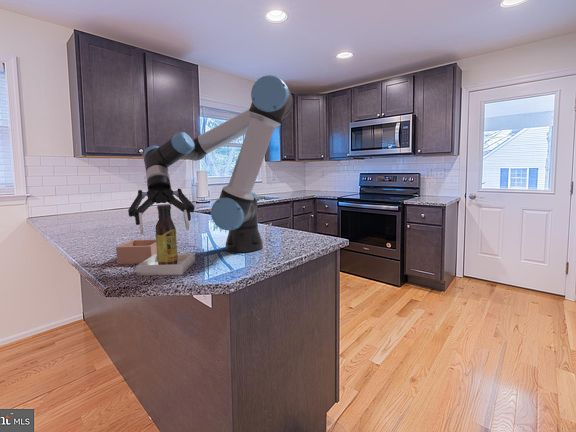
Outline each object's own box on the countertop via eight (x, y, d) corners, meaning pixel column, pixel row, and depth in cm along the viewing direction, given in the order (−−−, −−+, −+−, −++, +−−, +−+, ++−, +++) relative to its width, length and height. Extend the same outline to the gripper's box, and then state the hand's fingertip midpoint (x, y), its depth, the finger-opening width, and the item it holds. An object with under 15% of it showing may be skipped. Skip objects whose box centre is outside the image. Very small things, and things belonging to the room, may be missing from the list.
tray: (195, 261, 110) (194, 253, 110) (182, 274, 97) (181, 265, 96) (155, 263, 110) (154, 254, 110) (136, 275, 96) (135, 266, 96)
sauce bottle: (171, 268, 100) (165, 206, 97) (153, 267, 101) (147, 206, 98) (182, 262, 106) (177, 203, 103) (165, 261, 107) (160, 203, 104)
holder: (164, 254, 122) (163, 239, 121) (152, 263, 110) (150, 246, 109) (133, 255, 122) (132, 240, 121) (117, 263, 110) (115, 247, 109)
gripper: (194, 187, 119) (204, 232, 108) (119, 190, 108) (122, 240, 97) (195, 173, 114) (206, 219, 102) (117, 174, 103) (119, 226, 91)
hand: (165, 229), depth 100 cm, fingers open, 13 cm apart
